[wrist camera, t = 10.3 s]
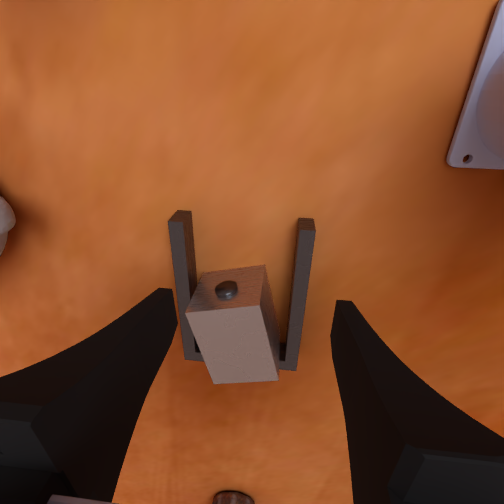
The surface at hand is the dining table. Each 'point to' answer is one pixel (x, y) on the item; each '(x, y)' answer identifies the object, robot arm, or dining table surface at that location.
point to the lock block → (236, 325)
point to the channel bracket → (187, 284)
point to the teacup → (5, 222)
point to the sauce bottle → (232, 498)
